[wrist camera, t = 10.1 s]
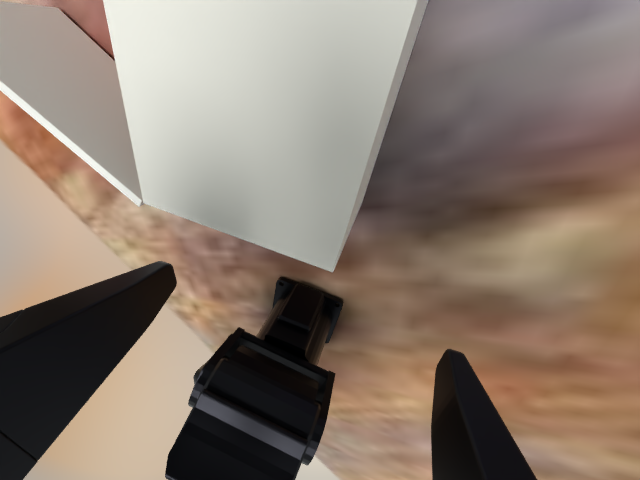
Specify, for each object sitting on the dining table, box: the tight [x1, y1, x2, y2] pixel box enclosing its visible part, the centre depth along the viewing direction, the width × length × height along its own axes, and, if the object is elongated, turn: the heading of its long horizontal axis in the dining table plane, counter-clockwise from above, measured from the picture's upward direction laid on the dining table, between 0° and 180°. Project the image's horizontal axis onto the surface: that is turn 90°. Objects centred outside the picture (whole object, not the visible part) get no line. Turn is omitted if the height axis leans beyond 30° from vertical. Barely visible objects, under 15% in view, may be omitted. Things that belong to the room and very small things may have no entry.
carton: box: [103, 0, 429, 272], centre depth 14 cm, size 14×11×8 cm
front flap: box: [0, 1, 144, 207], centre depth 16 cm, size 14×1×12 cm, turn 48°
